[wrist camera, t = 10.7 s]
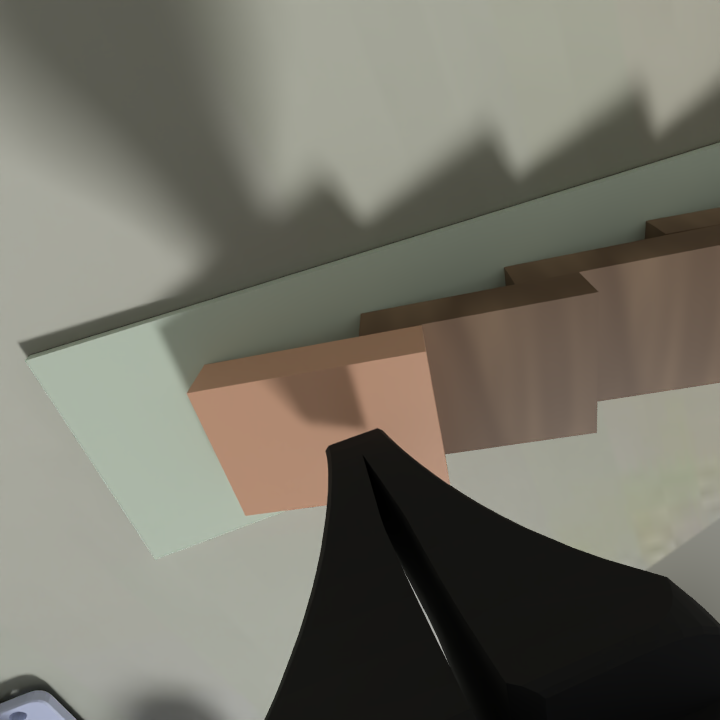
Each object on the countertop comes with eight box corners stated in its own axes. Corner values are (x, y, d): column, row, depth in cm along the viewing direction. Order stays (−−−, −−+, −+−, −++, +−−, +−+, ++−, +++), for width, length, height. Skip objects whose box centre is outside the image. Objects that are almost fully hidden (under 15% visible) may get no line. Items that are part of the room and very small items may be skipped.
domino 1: (390, 462, 15) (596, 432, 14) (358, 335, 13) (599, 291, 12) (390, 432, 16) (579, 404, 15) (360, 313, 14) (579, 272, 13)
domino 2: (524, 412, 15) (730, 381, 15) (515, 284, 13) (755, 238, 12) (514, 388, 17) (703, 357, 16) (503, 267, 14) (722, 223, 14)
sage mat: (156, 552, 16) (155, 560, 16) (29, 355, 12) (24, 360, 12) (765, 326, 19) (772, 329, 19) (807, 114, 15) (818, 114, 15)
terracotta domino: (245, 516, 14) (450, 488, 13) (186, 393, 12) (426, 351, 11) (256, 481, 15) (444, 454, 15) (204, 364, 13) (421, 324, 12)
